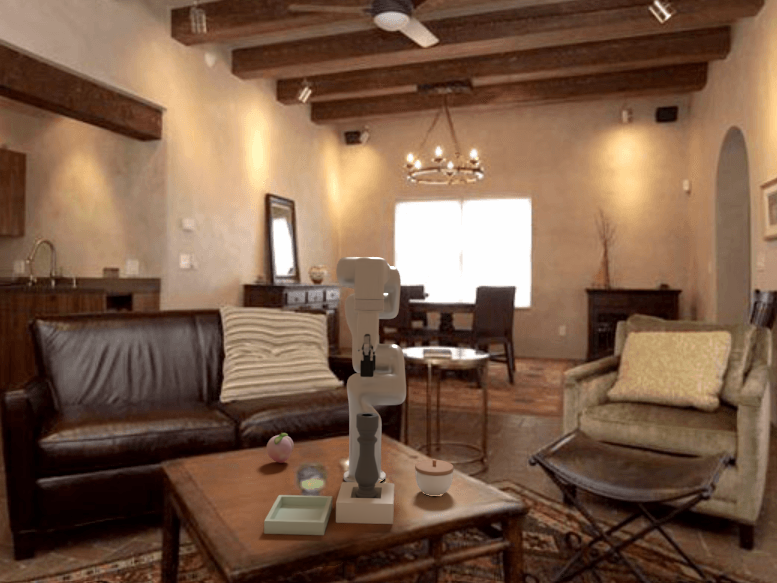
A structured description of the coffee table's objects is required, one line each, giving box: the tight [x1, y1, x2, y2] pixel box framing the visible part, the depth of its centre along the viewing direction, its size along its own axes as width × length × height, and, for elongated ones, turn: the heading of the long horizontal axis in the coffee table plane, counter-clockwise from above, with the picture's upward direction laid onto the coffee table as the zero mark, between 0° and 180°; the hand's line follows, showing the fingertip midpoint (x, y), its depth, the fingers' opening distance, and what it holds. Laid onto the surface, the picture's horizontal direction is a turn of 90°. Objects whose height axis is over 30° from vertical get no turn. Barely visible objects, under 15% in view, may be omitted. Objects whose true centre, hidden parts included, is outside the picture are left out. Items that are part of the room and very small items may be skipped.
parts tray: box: [263, 494, 333, 536], centre depth 146 cm, size 16×14×3 cm
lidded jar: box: [414, 458, 454, 495], centre depth 165 cm, size 11×11×9 cm
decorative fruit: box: [266, 432, 295, 464], centre depth 188 cm, size 9×8×10 cm
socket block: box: [335, 481, 395, 525], centre depth 151 cm, size 14×14×5 cm
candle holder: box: [355, 412, 380, 498], centre depth 151 cm, size 6×6×25 cm
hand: (368, 373), depth 150 cm, fingers open, 9 cm apart
